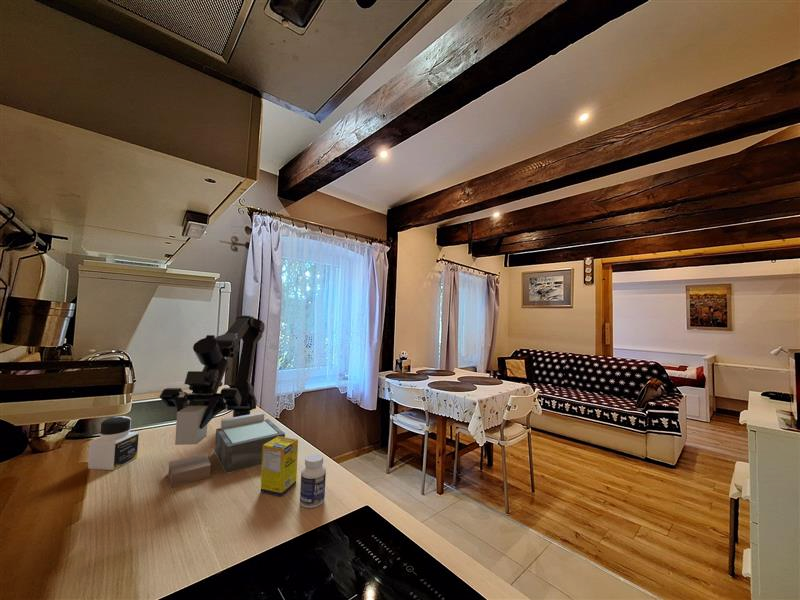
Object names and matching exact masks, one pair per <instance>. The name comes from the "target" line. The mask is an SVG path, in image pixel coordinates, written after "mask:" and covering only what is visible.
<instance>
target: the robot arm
mask: <svg viewBox="0 0 800 600" xmlns="http://www.w3.org/2000/svg"><path fill="white" fill-rule="evenodd" d="M265 325H266V324H265V323H264V322H263V321H262V320H261V319H257V318H255V317H254V316H251V315H238V316H236V319H235V321H234V322H233V323H232V324H231V326H230V327H229V328H228V329H227V331H225V333H223V334H221V335H218V336H215V335H213V334H207V335H206V336H205V337H204V338H202V339H199V340H198V341H196V342H195V343H194V344H193V346H192V349H193V351H194V353H195V355H196V357H197V359H198V361H199V362H200V364H201V365H203V368H202V371H201V370H199V371H198V370H196V371H195V370H193V371H189V370H188V371H187V373H186V377H185V381H184V385H188V386H189V387H188V389H189V391H191V392H185V391H183V389H182V388H181V387H166V388H164V389H163V390H162V391H161V393H160V395H159V398H160V399H161V401H162V402H163V403H164V404H165V406H166V407H168V408H176V410H177V411H176V413H177V412H178V411H180V410H182V409H184V408H185V407H187V406H190V405H189V404H190V401H191V402H193V401H194V402H200V401H201V402H208V405H207V406H208V408H207V410H206V412H205V414H204V416H203V418H202V421H201V424H200V429H203V428H204V427H205V426H206V425H207V426H208V424H209V423H210V422H211V420H212V419H214V418H215V417H216V416H217V415H218V414H219V413H221V412H222V411H223V410H227V411H232V417H238V416H243V415H249V414H251V411H253V410H256V409H257V404H258V403H257V402H258V401H257V398H256V395H255V393H254V392H255V391H254V387H253V384H252V382H251V379H252V373H253V367H254V359H255V354H256V347H257V344H258V342H260V340H261V339H262V338H263V333H264V332H265V327H266V326H265ZM241 340H242V345H241V351H240V344H239V343H240V341H241ZM239 351H240V358H239V364H238V368H237V375H236V380H235V382H233V384H230V386H229V387H224V388H221V387H222V386H223V382H222V381H223V378H224V375H225V373H226V371H229V368H230V367H229V361H228V360H227V359H230V358H231V359H233V358H235V357H236V355H238V353H239ZM220 388H221V390H220V392H218V391H219V389H220Z"/></svg>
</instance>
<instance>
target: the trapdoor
mask: <svg viewBox="0 0 800 600" xmlns="http://www.w3.org/2000/svg"><path fill="white" fill-rule="evenodd" d="M220 420H221V421H220V428H221V429H222V431H223V432H224V433H225V435H226V436H227V438H228V439H229V441H230V442H231V444H233V443H238V442H242V441H246V440H251V439H255V438H260V437H264V436H269V435H273V434H278V432H276V431H275V430H274V429H273V428H272V427H271V426H270V425H269V424H268V423H266V422H265V413H264V412H262V411H261V412H256V413H250V414H249V415H243V416H238V417H233V416H232V417H227V418H221V419H220Z"/></svg>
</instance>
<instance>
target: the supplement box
mask: <svg viewBox="0 0 800 600" xmlns="http://www.w3.org/2000/svg"><path fill="white" fill-rule="evenodd" d="M298 450H299V438H298V439H297V438H291V437H286V436H285V437H280V436H278V437H276V438H275V439H273V440H271V441H269V442H267V443H266V444H264V445H263V447H262V464H261V473H260V474H261V475H260V492H261V493H266V494H271V495H276V496H280V497H283V495H284V494H285V495H286V493H287V492H288V491H290V489H291V488H293V487H294V486H296V484H297V477H298V476H297V474H298V473H297V472H298V452H299V451H298Z"/></svg>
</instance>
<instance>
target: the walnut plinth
mask: <svg viewBox="0 0 800 600" xmlns="http://www.w3.org/2000/svg"><path fill="white" fill-rule="evenodd" d="M211 467H212V465H211V462H210V460H209V457H208V456H207V454H206V453H202V454H197V455H192V456H189V457H184V458H180V459H179V458H178V459H176V460H171V461H169V462H168V479H169V483H170V488H176V487H179V486H182V485H186V484H190V483H193V482H197V481H201V480H204V479H208V478H211Z"/></svg>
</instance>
